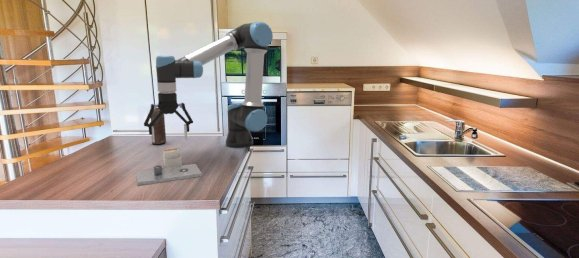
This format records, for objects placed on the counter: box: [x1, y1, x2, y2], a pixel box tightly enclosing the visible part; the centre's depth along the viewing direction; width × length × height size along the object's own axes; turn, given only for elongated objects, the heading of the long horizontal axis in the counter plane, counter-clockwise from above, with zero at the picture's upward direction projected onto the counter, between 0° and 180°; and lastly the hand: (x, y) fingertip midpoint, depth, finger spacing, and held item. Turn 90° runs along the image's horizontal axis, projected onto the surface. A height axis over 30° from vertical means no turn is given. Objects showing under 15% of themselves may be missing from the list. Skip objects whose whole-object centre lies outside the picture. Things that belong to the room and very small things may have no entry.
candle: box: [150, 107, 167, 145], centre depth 183 cm, size 8×7×20 cm
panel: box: [136, 163, 203, 187], centre depth 135 cm, size 24×14×4 cm, turn 116°
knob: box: [162, 147, 183, 168], centre depth 147 cm, size 7×7×8 cm
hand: (170, 140), depth 145 cm, fingers open, 13 cm apart
